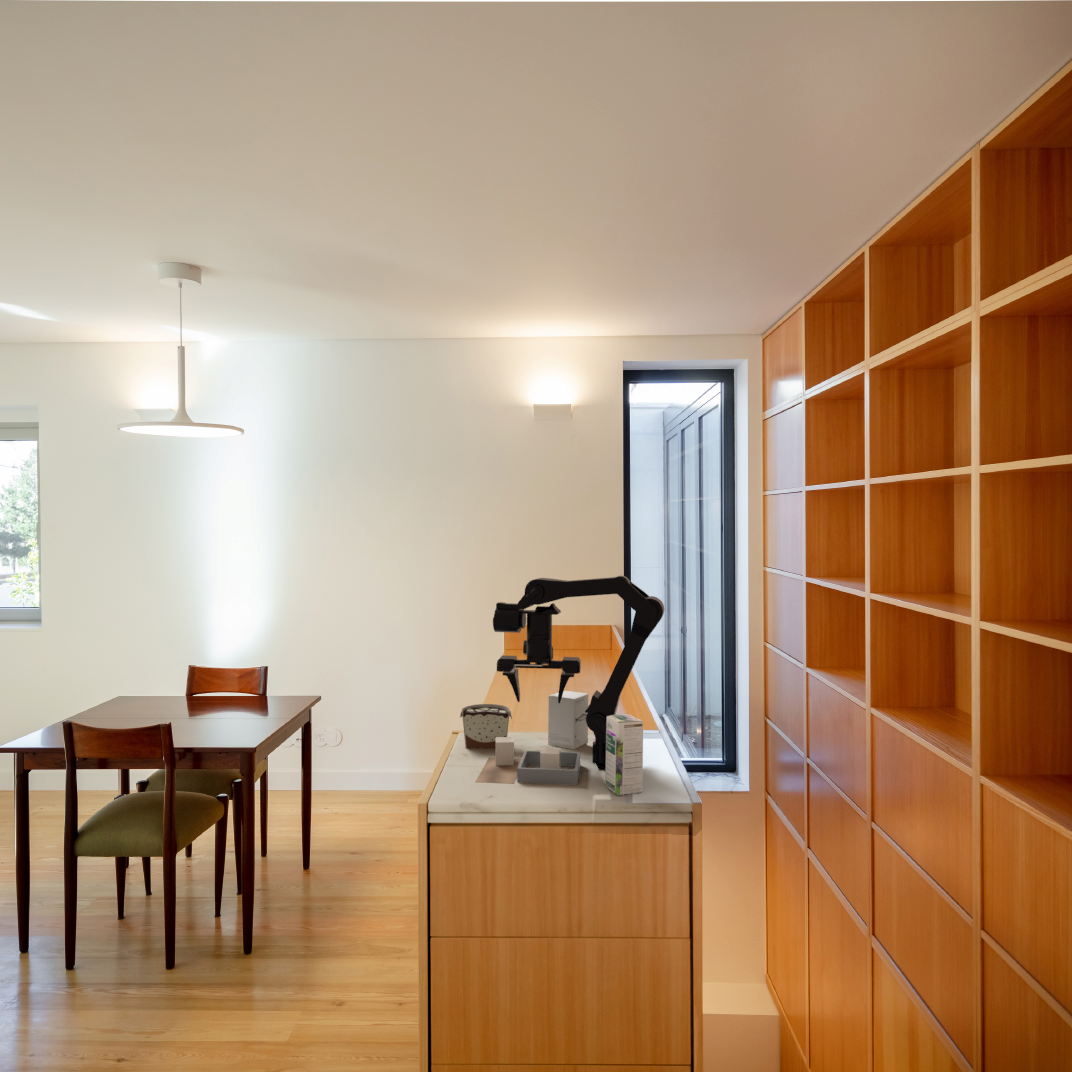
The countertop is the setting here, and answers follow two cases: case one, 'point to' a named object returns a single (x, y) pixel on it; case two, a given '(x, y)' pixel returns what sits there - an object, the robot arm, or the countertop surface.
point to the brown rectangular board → (498, 772)
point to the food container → (484, 724)
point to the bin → (548, 774)
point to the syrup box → (624, 754)
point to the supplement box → (568, 720)
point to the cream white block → (504, 751)
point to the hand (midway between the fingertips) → (539, 702)
